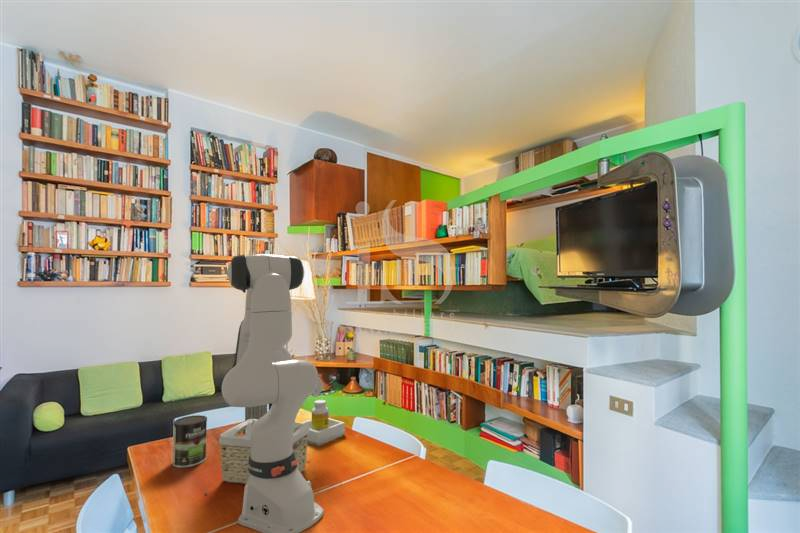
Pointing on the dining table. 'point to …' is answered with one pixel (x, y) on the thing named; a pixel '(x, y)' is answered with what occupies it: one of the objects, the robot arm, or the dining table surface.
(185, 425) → the coffee can
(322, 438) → the box
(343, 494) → the dining table surface
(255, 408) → the milk frother
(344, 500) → the dining table surface
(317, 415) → the supplement bottle
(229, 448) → the storage basket
